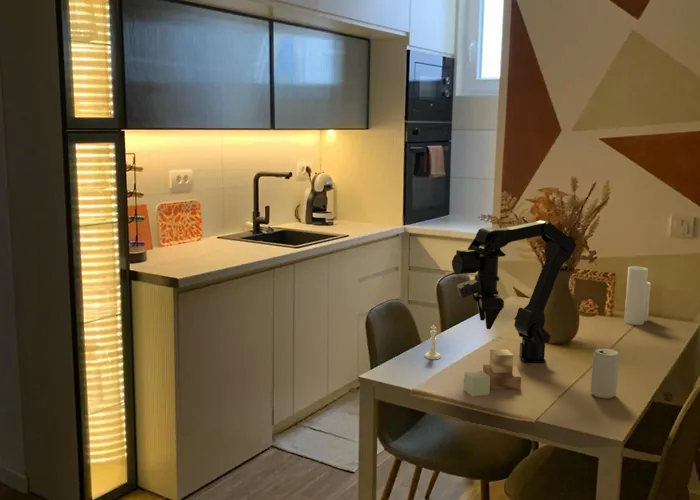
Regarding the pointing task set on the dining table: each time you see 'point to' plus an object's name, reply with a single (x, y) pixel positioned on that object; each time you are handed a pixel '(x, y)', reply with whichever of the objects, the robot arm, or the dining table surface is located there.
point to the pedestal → (504, 379)
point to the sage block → (476, 383)
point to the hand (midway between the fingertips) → (485, 324)
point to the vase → (637, 296)
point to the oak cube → (501, 361)
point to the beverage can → (604, 373)
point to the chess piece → (432, 346)
